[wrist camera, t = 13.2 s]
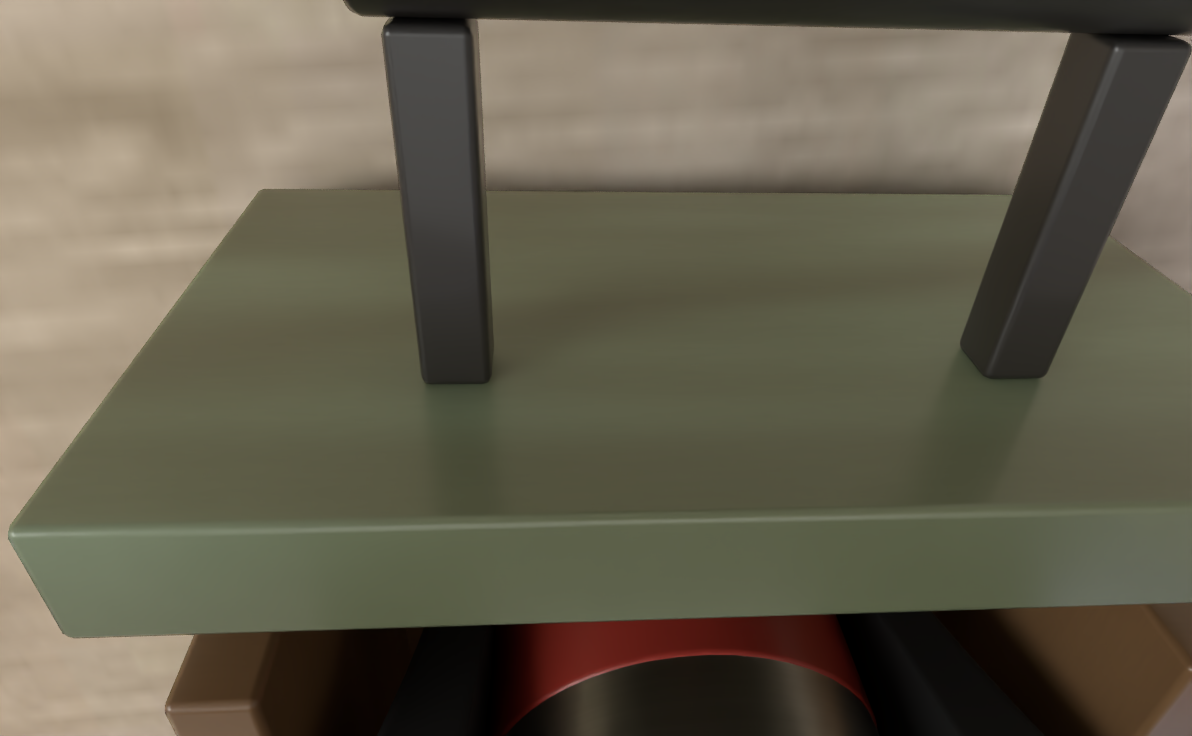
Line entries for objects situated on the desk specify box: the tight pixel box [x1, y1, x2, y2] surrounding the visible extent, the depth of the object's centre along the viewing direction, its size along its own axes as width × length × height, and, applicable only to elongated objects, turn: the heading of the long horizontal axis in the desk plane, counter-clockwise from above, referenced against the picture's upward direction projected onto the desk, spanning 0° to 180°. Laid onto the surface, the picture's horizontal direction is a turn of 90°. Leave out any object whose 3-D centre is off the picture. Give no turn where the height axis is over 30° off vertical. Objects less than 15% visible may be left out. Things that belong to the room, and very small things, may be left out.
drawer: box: [8, 0, 1192, 736], centre depth 10 cm, size 16×11×6 cm, turn 178°
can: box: [489, 614, 879, 736], centre depth 11 cm, size 5×5×5 cm
